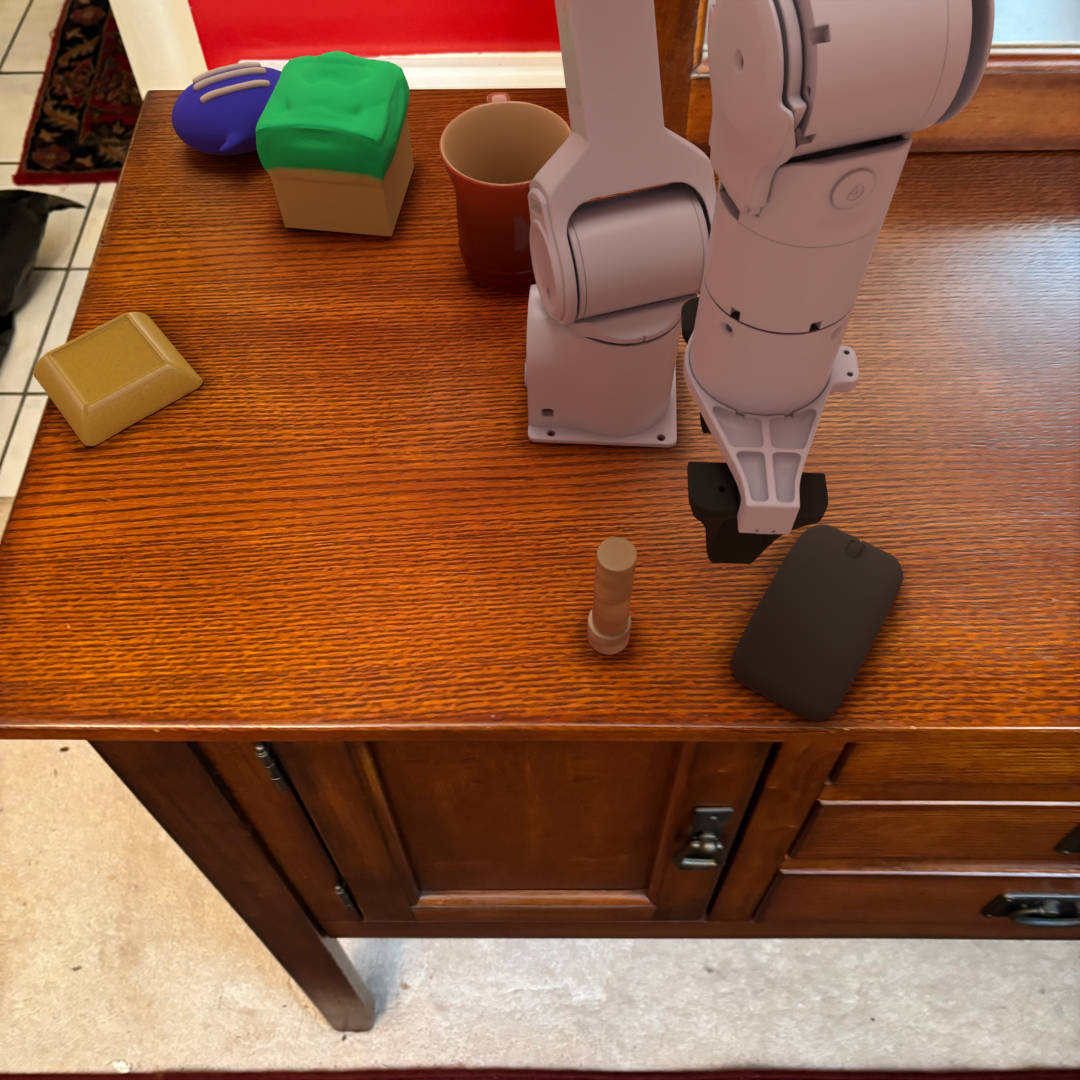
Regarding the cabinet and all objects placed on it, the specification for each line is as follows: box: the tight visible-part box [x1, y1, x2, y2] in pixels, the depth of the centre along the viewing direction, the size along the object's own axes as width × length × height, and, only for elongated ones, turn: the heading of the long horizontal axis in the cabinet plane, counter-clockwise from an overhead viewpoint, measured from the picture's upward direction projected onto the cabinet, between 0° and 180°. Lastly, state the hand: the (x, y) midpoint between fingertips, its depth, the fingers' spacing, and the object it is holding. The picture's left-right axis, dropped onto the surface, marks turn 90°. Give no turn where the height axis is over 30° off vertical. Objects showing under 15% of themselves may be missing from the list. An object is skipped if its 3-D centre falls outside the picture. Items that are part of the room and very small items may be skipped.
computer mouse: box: [730, 524, 904, 722], centre depth 54 cm, size 6×11×4 cm, turn 148°
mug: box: [438, 91, 571, 294], centre depth 68 cm, size 12×9×10 cm
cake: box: [256, 50, 415, 238], centre depth 71 cm, size 10×11×10 cm
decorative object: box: [171, 61, 282, 156], centre depth 76 cm, size 10×6×10 cm
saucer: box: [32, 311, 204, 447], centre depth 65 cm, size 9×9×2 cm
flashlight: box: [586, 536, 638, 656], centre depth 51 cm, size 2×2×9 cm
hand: (726, 490), depth 48 cm, fingers open, 7 cm apart
